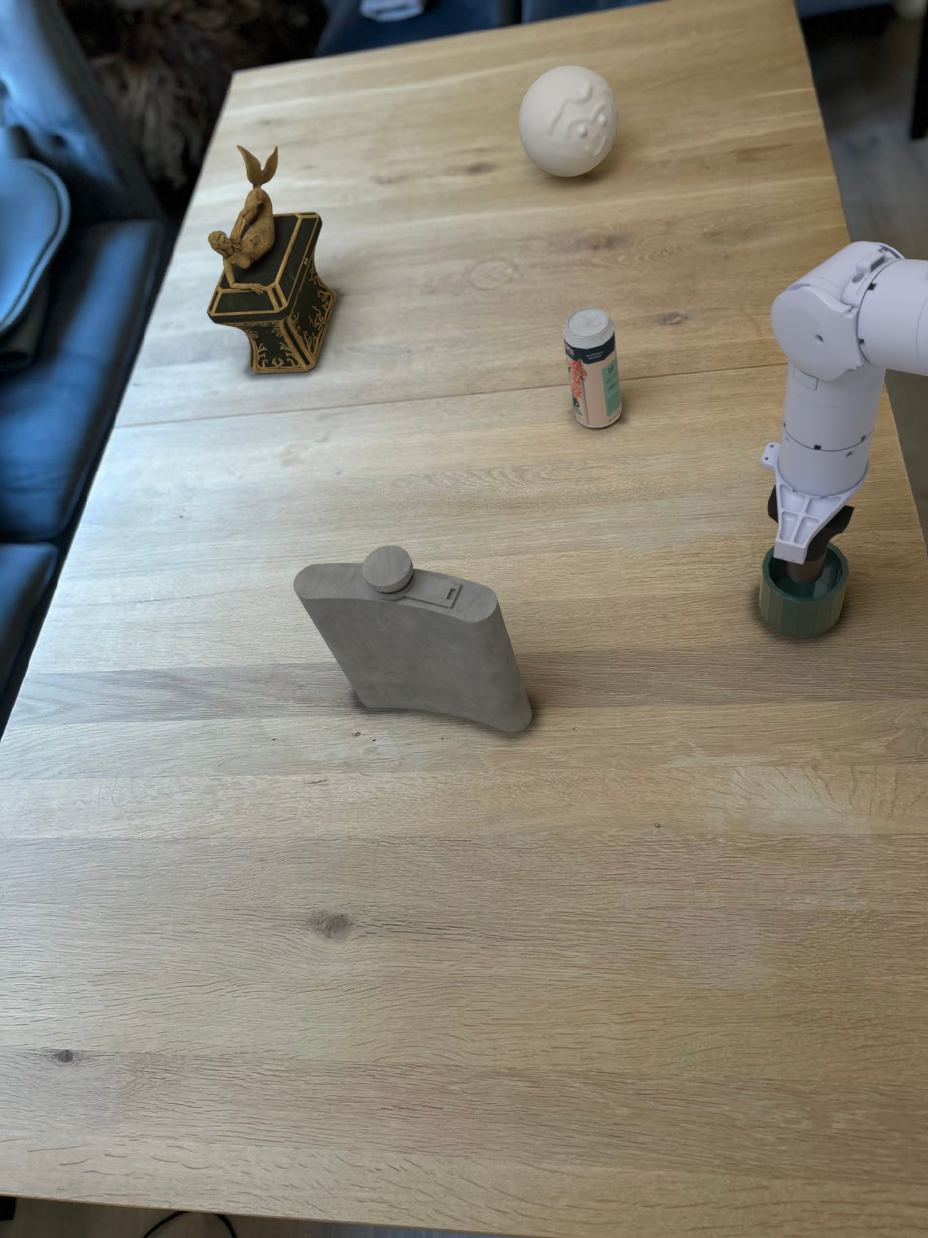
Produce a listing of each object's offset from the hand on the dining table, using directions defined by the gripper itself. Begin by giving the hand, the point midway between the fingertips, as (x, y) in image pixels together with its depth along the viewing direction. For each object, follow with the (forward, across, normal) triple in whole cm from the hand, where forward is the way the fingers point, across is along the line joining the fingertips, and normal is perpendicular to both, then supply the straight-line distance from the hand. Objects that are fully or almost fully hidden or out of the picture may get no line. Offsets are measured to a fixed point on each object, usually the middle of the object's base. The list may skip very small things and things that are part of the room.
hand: (809, 543), depth 76 cm
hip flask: (+10, +18, -25) cm, 33 cm away
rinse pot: (+10, -1, 0) cm, 10 cm away
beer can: (+10, -17, -25) cm, 32 cm away
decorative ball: (+10, -55, -44) cm, 71 cm away
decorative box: (+10, -21, -65) cm, 69 cm away
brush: (+4, 0, 0) cm, 4 cm away
